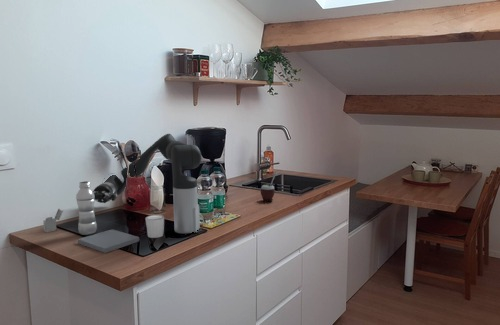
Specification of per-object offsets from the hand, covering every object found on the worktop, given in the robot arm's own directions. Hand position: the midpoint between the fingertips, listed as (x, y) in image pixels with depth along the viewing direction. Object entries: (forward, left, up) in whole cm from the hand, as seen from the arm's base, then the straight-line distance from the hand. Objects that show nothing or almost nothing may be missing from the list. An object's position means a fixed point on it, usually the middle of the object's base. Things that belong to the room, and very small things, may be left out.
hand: (93, 201), depth 160 cm
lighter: (+14, +5, -11) cm, 19 cm away
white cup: (-28, +8, -11) cm, 31 cm away
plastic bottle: (-2, +9, -11) cm, 14 cm away
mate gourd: (-67, -49, -11) cm, 84 cm away
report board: (-14, +17, -11) cm, 24 cm away
